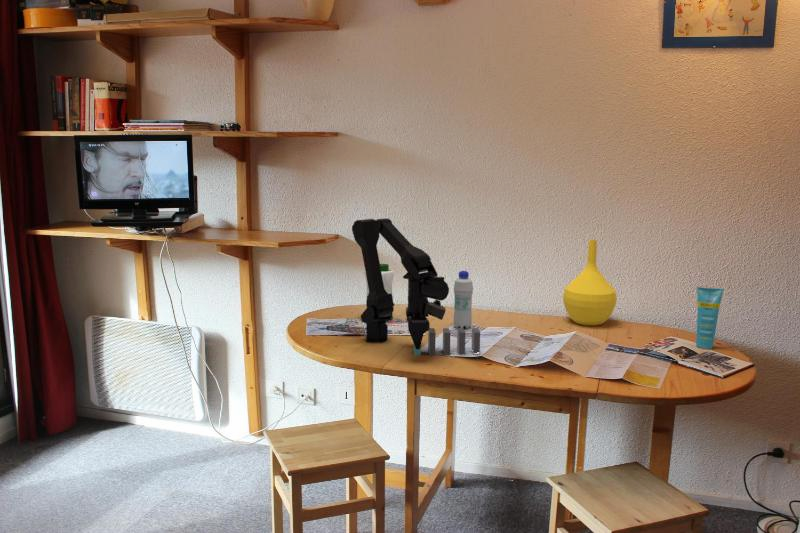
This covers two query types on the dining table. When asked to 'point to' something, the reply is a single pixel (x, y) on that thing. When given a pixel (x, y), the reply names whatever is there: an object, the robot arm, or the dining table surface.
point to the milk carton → (385, 280)
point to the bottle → (463, 300)
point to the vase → (589, 294)
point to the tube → (707, 315)
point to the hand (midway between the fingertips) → (416, 344)
